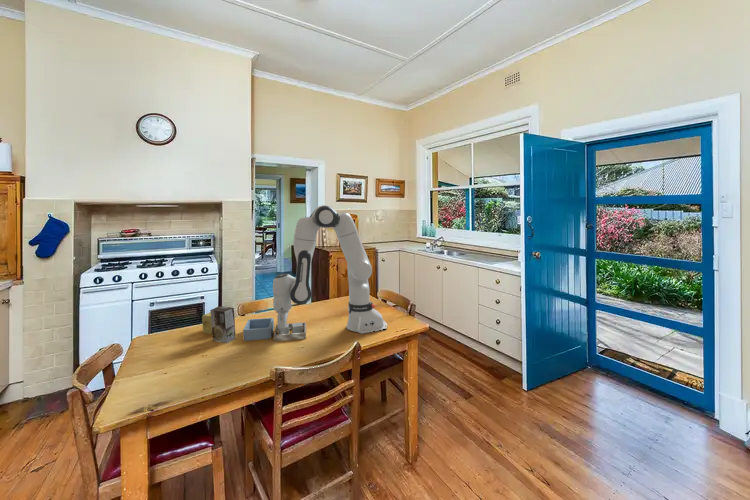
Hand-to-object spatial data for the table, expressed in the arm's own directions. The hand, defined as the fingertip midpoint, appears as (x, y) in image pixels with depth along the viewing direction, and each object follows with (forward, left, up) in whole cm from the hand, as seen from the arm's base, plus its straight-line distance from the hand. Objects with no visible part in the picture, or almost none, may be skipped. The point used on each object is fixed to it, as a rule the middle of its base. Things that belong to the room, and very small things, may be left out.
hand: (283, 331), depth 166 cm
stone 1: (0, 0, -2) cm, 2 cm away
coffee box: (+28, 0, -2) cm, 29 cm away
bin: (+12, -4, -2) cm, 13 cm away
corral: (-4, 0, -2) cm, 4 cm away
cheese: (+35, -12, -2) cm, 37 cm away
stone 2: (-7, 0, -2) cm, 7 cm away
